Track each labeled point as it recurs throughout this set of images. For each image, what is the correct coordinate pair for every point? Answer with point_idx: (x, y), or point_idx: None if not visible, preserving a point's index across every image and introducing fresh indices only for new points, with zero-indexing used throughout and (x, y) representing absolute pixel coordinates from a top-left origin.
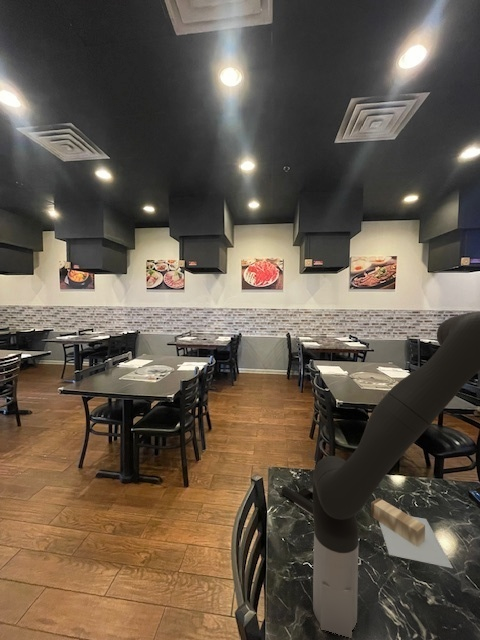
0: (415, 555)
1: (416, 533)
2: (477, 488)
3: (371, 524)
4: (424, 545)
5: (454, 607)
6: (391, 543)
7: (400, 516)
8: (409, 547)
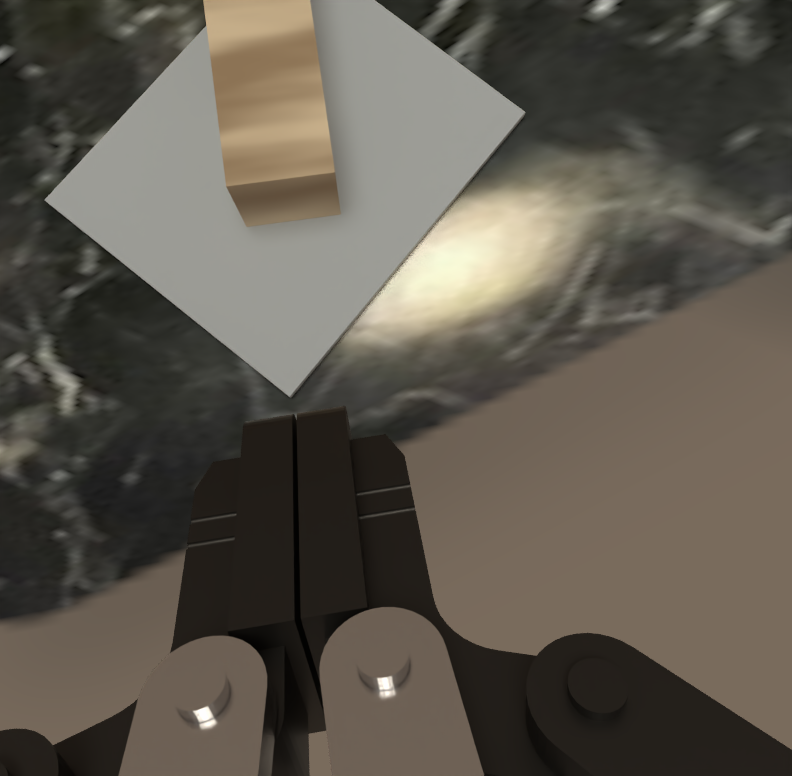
0: (178, 261)
1: (229, 190)
2: (246, 448)
3: (170, 8)
4: (298, 238)
5: (68, 523)
6: (131, 153)
7: (253, 56)
8: (201, 212)
